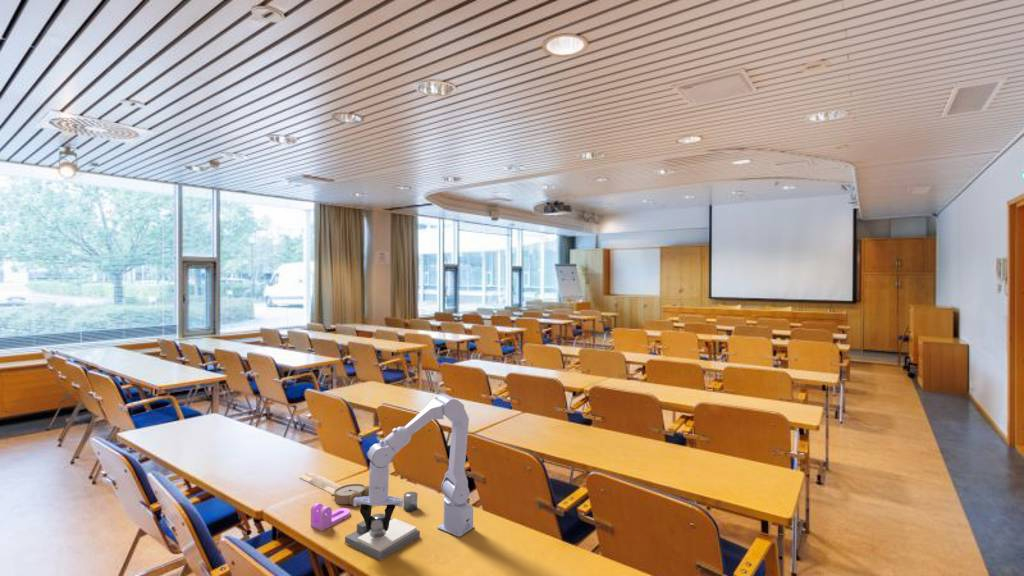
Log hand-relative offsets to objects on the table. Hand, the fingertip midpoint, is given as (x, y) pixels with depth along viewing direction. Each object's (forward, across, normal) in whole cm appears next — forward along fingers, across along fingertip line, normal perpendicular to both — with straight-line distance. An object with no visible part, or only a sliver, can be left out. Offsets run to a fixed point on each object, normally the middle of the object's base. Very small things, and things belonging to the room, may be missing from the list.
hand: (377, 529), depth 148 cm
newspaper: (+7, +33, -44) cm, 55 cm away
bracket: (+6, +19, -16) cm, 26 cm away
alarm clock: (+6, +17, -32) cm, 36 cm away
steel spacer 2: (+6, -5, -26) cm, 27 cm away
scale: (+6, -1, -4) cm, 7 cm away
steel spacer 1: (+2, 0, 0) cm, 2 cm away
